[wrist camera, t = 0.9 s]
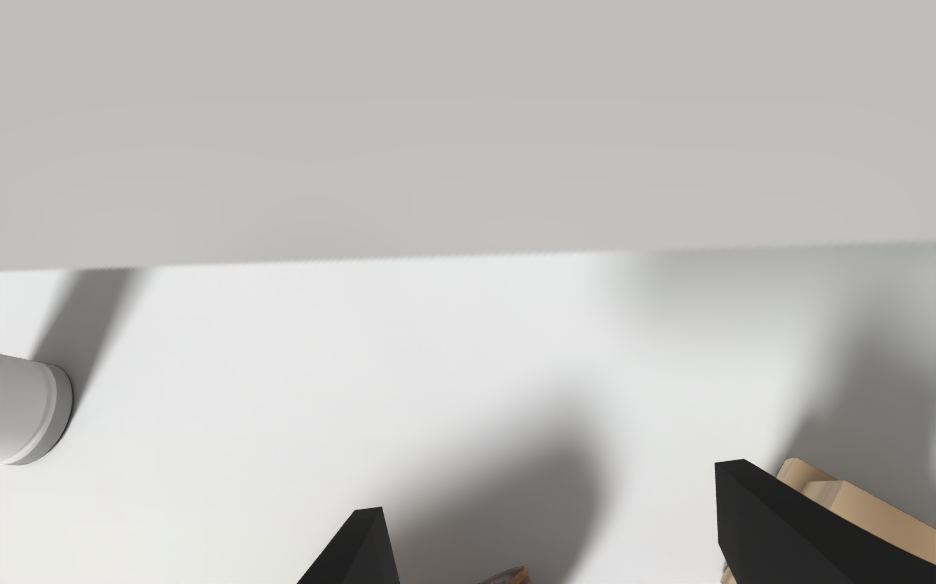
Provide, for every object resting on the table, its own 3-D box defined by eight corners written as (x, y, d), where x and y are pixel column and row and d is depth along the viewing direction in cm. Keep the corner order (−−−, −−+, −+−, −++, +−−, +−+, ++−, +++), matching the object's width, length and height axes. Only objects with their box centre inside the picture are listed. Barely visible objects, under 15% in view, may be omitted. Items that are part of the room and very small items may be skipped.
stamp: (937, 545, 20) (1067, 572, 13) (869, 681, 19) (971, 778, 13) (784, 460, 22) (831, 448, 15) (719, 579, 21) (741, 618, 15)
